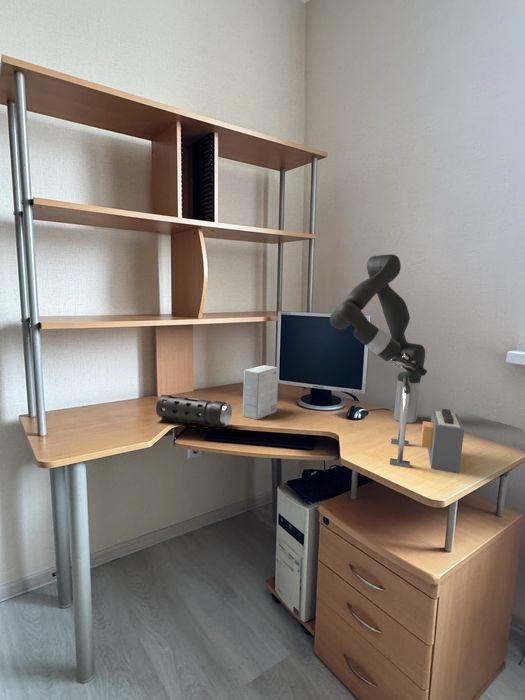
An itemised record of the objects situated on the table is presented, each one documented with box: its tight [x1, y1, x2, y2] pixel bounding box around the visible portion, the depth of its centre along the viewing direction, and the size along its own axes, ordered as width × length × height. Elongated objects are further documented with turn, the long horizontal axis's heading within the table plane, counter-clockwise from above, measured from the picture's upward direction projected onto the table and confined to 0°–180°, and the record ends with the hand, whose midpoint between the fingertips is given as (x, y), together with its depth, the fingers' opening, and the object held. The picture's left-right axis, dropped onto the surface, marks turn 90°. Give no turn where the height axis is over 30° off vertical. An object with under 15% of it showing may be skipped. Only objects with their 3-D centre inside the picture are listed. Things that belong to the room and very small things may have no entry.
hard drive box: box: [242, 364, 279, 421], centre depth 180 cm, size 16×8×20 cm, turn 146°
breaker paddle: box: [420, 421, 434, 449], centre depth 141 cm, size 6×5×7 cm
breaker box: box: [427, 408, 465, 474], centre depth 140 cm, size 18×8×16 cm, turn 162°
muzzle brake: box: [155, 394, 233, 428], centre depth 164 cm, size 10×28×10 cm, turn 73°
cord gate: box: [389, 376, 411, 468], centre depth 143 cm, size 22×6×25 cm, turn 162°
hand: (419, 372), depth 146 cm, fingers open, 8 cm apart
